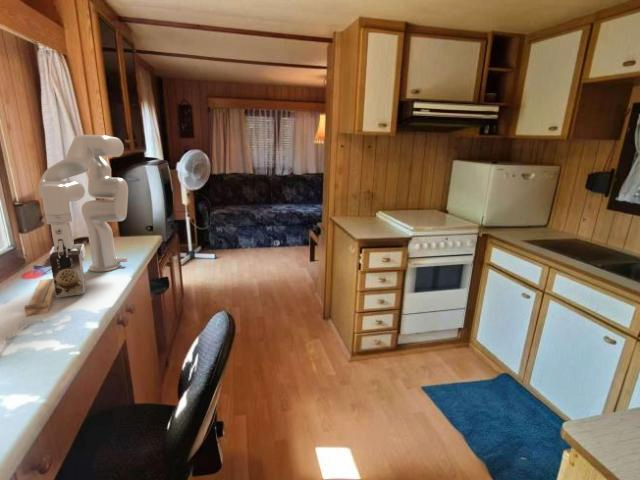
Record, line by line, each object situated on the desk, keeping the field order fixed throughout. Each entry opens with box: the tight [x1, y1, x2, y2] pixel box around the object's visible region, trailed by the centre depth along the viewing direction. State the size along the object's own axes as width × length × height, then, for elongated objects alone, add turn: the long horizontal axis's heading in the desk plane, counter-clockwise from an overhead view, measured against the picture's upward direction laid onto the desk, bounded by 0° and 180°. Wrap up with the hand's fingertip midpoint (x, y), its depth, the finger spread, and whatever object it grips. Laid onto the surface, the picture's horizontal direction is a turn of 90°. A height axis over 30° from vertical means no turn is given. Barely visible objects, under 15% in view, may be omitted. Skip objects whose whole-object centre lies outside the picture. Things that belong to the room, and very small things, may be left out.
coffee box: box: [49, 250, 87, 298], centre depth 135 cm, size 9×6×16 cm
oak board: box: [23, 278, 56, 318], centre depth 134 cm, size 6×30×4 cm, turn 29°
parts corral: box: [49, 243, 86, 261], centre depth 176 cm, size 13×12×5 cm
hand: (66, 264), depth 134 cm, fingers closed on coffee box, 6 cm apart
